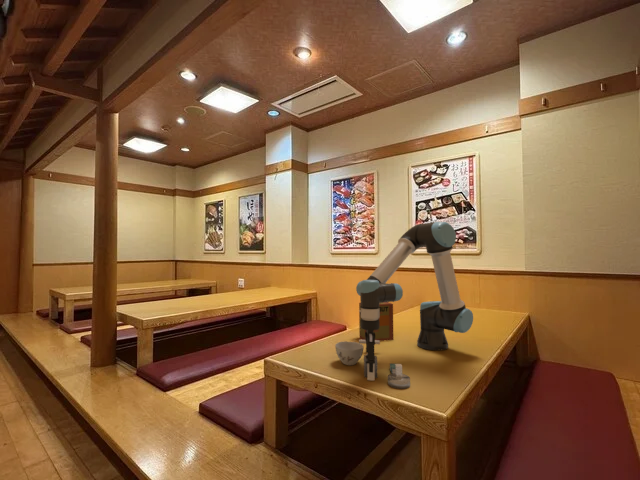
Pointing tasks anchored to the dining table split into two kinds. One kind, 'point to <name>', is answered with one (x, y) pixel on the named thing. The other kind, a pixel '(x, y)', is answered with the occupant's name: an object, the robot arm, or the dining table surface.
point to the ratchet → (398, 377)
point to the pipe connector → (365, 341)
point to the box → (381, 323)
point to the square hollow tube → (366, 365)
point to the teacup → (349, 352)
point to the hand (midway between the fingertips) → (370, 374)
